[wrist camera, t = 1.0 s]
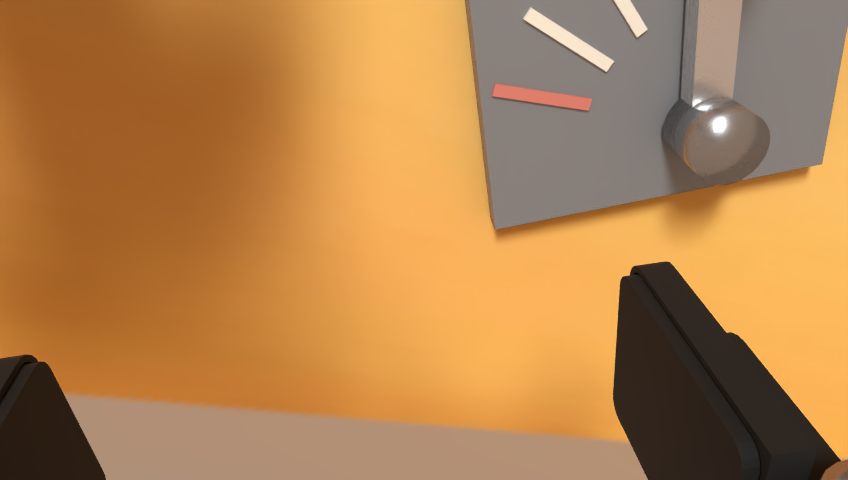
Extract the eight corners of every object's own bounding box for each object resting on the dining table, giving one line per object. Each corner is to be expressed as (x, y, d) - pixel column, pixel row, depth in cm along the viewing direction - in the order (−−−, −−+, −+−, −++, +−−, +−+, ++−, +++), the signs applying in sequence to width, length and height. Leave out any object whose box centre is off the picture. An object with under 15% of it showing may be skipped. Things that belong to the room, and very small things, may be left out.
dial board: (443, -184, 33) (449, -184, 31) (879, -264, 33) (904, -268, 32) (490, 218, 45) (496, 231, 44) (808, 154, 46) (823, 165, 44)
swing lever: (729, 148, 42) (801, 205, 36) (661, 162, 42) (721, 221, 36) (768, -233, 32) (880, -247, 25) (677, -216, 31) (766, -226, 25)
